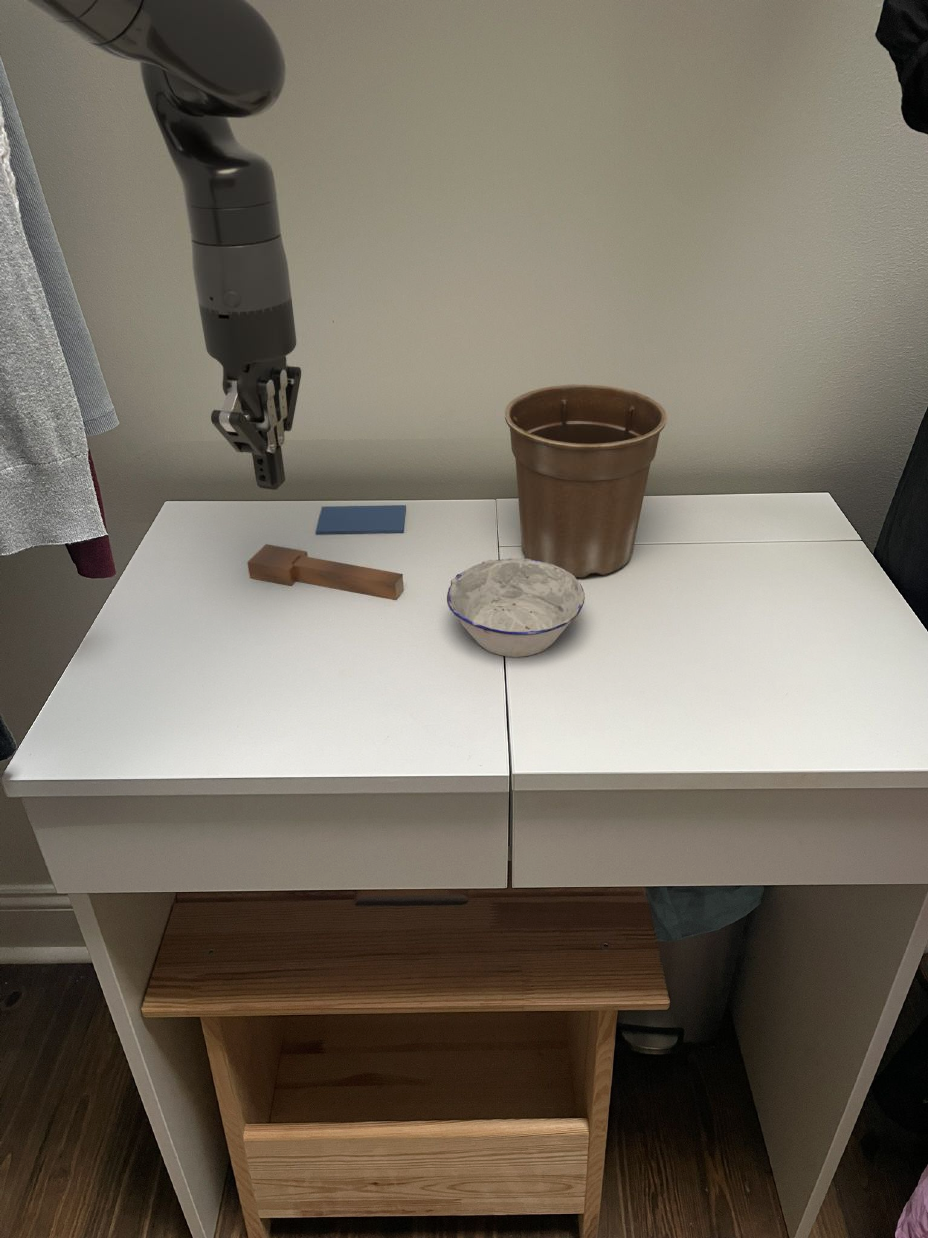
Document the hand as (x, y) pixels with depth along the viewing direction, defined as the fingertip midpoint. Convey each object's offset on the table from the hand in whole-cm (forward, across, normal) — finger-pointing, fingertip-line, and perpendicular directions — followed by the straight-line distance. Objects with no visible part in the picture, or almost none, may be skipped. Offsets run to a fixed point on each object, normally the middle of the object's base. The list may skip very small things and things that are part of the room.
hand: (271, 485), depth 87 cm
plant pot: (+14, -20, +26) cm, 35 cm away
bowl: (+14, -3, +23) cm, 27 cm away
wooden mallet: (+14, -6, +1) cm, 16 cm away
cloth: (+14, -20, 0) cm, 24 cm away
